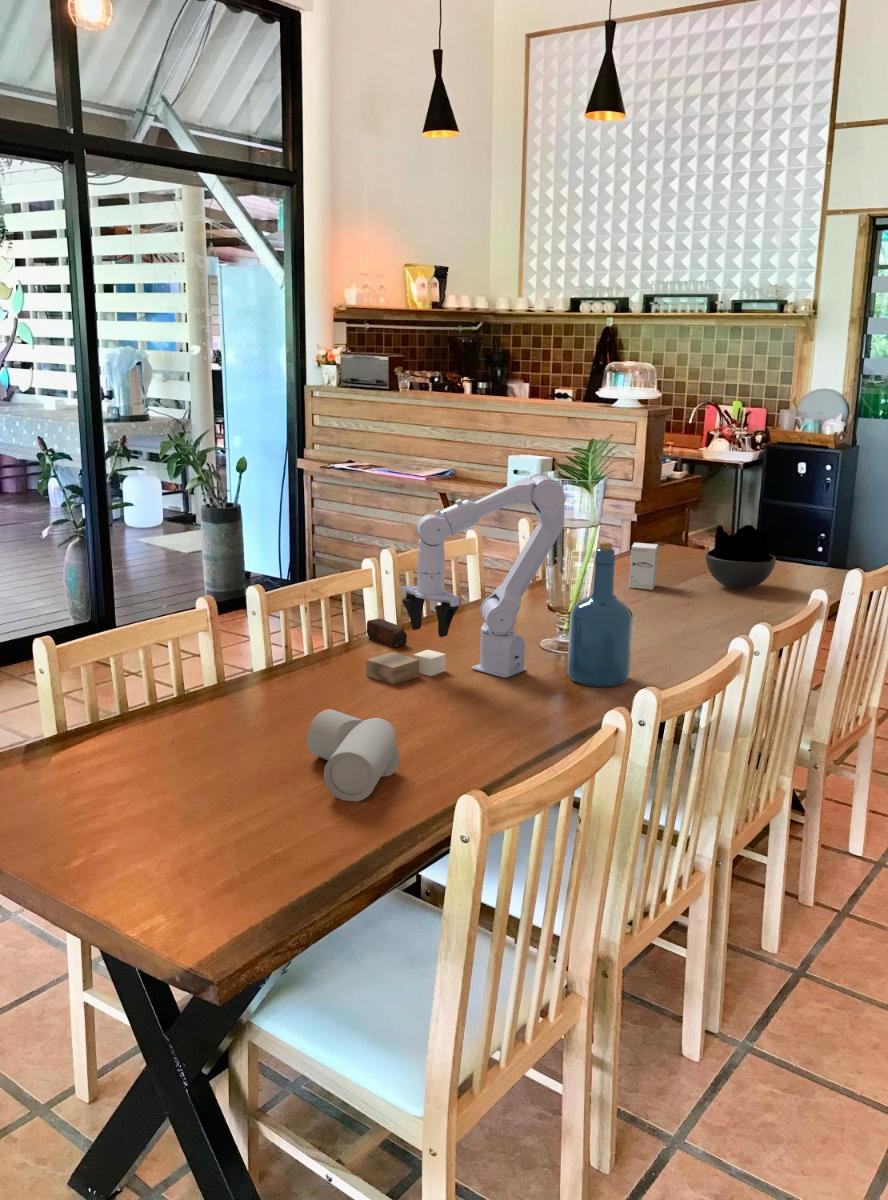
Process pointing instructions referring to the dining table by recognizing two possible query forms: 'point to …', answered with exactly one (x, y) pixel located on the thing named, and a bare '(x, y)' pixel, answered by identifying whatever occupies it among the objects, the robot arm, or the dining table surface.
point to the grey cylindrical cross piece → (353, 752)
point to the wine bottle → (600, 630)
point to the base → (392, 668)
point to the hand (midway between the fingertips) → (429, 632)
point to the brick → (386, 633)
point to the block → (430, 662)
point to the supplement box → (643, 566)
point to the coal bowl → (740, 558)
